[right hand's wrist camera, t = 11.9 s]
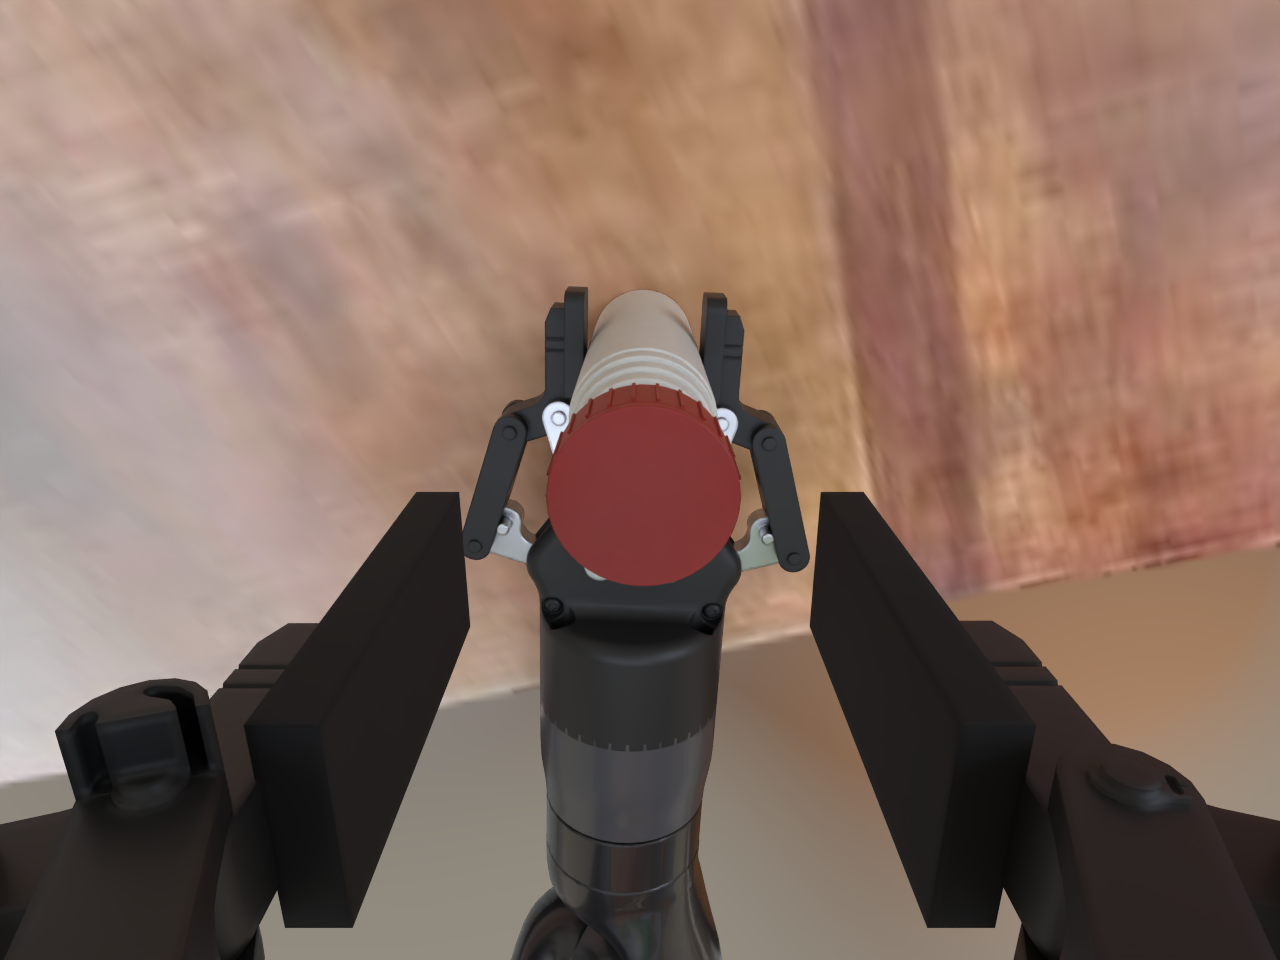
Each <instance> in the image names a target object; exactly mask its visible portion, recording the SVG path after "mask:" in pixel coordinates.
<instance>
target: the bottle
mask: <svg viewBox="0 0 1280 960" xmlns="http://www.w3.org/2000/svg"><path fill="white" fill-rule="evenodd" d="M632 383H636V385H638V384H647V385H655V384H656V383H659V386H663V387H667V388H671V389H674V390H677V391H678V389H680V390H682V393H683V394H686V395H688V396H689V397H691V398H692V399H694V400H696V401H697V402H698V401H701V402H702V405H703V407H704V408H706V409H707V410H708V412H709V413H710V414H711V415H712V416H713V417H715V416H716V417H717V418H718V416H717V407H716V402H715V398H714V396H713V393H712V390H711V387H710V384H709V381H708V378H707V375H706V372H705V369H704V366H703V364H702V361H701V358H700V355H699V352H698V349H697V346H696V343H695V340H694V337H693V335H692V332H691V329H690V326H689V323H688V320H687V318H686V316H685V314H684V312H683V311H682V309H681V308H680V307H679V306H678V305H677V303H675V302H674V301H673V300H672V299H670V298H669V297H667V296H666V295H664V294H661V293H659V292H656V291H651V290H634V291H630V292H627V293H624V294H622V295H620V296H618V297H616V298H615V299H614V300H612V301H611V302H610V303H609V304H608V305H607V306H606V307H605V309H604V310H603V311H602V313H601V315H600V316H599V319H598V321H597V324H596V327H595V330H594V333H593V336H592V339H591V342H590V345H589V348H588V351H587V354H586V357H585V360H584V363H583V366H582V369H581V372H580V375H579V378H578V381H577V384H576V387H575V390H574V393H573V396H572V399H571V403H570V408H569V422H570V419H571V416H572V414H573V413H575V414H576V413H577V412H578V411H579V410H580V409H581V408H582V407H584V406H585V405H586V404H587V403H588V400H589V399H590V398H592V399H594V398H596V397H598V396H599V395H601V394H603V393H605V392H608V391H609V388H613V389H616V388H619V387H624V386H628V385H632ZM569 422H568V424H569Z"/></svg>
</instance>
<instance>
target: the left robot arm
mask: <svg viewBox="0 0 1280 960" xmlns="http://www.w3.org/2000/svg"><path fill="white" fill-rule="evenodd" d="M587 335H588V287H570V286H569V287H568V288H567V289H566V291H565V297H564V303H554V304H553V306H552V307H551V309H550V311H549V314H548V316H547V319H546V321H545V391H544V392H543V393H542V394H541V395H539V396H537V397H535V398H531V399H528V400H525V401H523V400H514V401H512V402H510V403H509V404H508V405H507V406H506V407H505V409H504V411H503V413H502V416H501V417H500V418H499V419H498V420H497V422H496V423H495V425H494V428H493V431H492V434H491V438H490V441H489V445H488V448H487V451H486V455H485V458H484V461H483V465H482V468H481V471H480V475H479V478H478V482H477V485H476V488H475V492H474V495H473V498H472V502H471V505H470V508H469V512H468V515H467V519H466V522H465V525H464V529H463V532H462V534H463V546H464V555H465V556H466V557H467V558H469V559H473V560H480V559H483V558H485V557H486V556H487V555H488V554H489V552H490V553H493V554H496V555H499V556H503V557H506V558H509V559H512V560H515V561H519V562H522V563H525V564H526V565H527V570H528V573H529V575H530V576H531V578H532V580H533V581H534V583H535V585H536V587H537V589H538V592H539V597H540V698H541V700H540V704H541V752H542V760H543V766H544V771H545V777H546V785H547V861H548V868H549V874H550V879H551V882H552V884H553V887H552V888H551V889H549V890H548V891H547V892H546V893H545V894H544V895H543V896H542V897H541V898H540V899H539V900H538V901H537V902H536V903H535V905H534V906H533V907H532V909H531V911H530V912H529V914H528V916H527V918H526V920H525V922H524V924H523V926H522V929H521V932H520V934H519V937H518V940H517V942H516V946H515V949H514V952H513V955H512V958H511V960H722V955H721V949H720V944H719V938H718V934H717V930H716V926H715V923H714V919H713V916H712V912H711V908H710V904H709V900H708V896H707V893H706V889H705V884H704V880H703V876H702V871H701V867H700V863H699V859H698V847H699V831H700V818H701V807H702V797H703V790H704V785H705V781H706V777H707V774H708V770H709V766H710V762H711V756H712V748H713V738H714V727H715V715H716V704H717V692H718V681H719V670H720V658H721V647H722V635H723V624H724V612H725V604H726V601H727V598H728V596H729V594H730V592H731V590H732V589H733V588H734V586H735V585H736V584H737V582H738V581H739V578H740V576H741V572H742V571H747V570H751V569H755V568H760V567H764V566H768V565H772V564H777V563H779V564H780V566H781V567H782V568H783V569H784V570H786V571H788V572H798V571H801V570H802V569H804V568H805V567H806V566H807V564H808V563H809V560H810V554H809V550H808V545H807V540H806V535H805V531H804V526H803V521H802V516H801V511H800V507H799V502H798V497H797V492H796V487H795V483H794V478H793V473H792V468H791V464H790V459H789V454H788V449H787V444H786V440H785V437H784V435H783V433H782V431H781V429H780V428H779V426H778V424H777V422H776V421H775V419H774V417H773V416H772V415H771V414H770V413H769V412H767V411H764V410H756V409H753V408H751V407H748V406H746V405H744V404H743V403H741V402H740V401H739V386H740V374H741V362H742V351H743V339H744V328H743V325H742V322H741V319H740V316H739V314H738V313H737V312H736V310H727V298H726V296H725V295H724V294H723V293H706V292H704V295H703V304H702V319H701V334H700V349H699V355H700V358H701V361H702V364H703V366H704V369H705V372H706V375H707V378H708V381H709V384H710V387H711V390H712V393H713V396H714V398H715V402H716V407H717V416H718V421H719V424H720V427H721V429H722V431H723V433H724V435H725V436H726V435H728V437H729V440H730V443H734V444H737V445H739V446H742V447H744V448H747V449H750V453H751V458H752V462H753V467H754V471H755V475H756V480H757V484H758V489H759V493H760V497H761V502H762V506H763V508H762V509H758V510H756V511H754V512H752V513H751V514H750V516H749V517H748V520H747V532H746V534H745V536H744V537H743V538H742V539H740V540H739V541H736V542H734V541H733V539H732V538H731V536H730V537H729V539H728V541H727V543H726V544H725V545H724V547H723V548H722V549H721V551H720V552H719V553H718V554H717V555H716V556H715V557H714V558H713V559H712V560H711V561H710V562H709V563H707V564H706V565H705V566H704V567H703V568H701V569H699V570H698V571H696V572H695V573H693V574H691V575H689V576H687V577H685V578H682V579H680V580H677V581H674V582H671V583H666V584H661V585H654V586H632V585H626V584H620V583H617V582H613V581H610V580H607V579H605V578H602V577H600V576H598V575H596V574H594V573H592V572H591V571H589V570H587V569H586V568H585V567H583V566H582V565H581V564H579V563H578V562H577V561H576V560H575V559H574V558H573V557H572V556H571V555H570V554H569V553H568V552H567V551H566V549H565V548H564V547H563V546H562V544H561V542H560V541H559V539H558V538H557V536H556V534H555V532H554V529H553V527H552V525H551V522H550V518H548V520H547V521H546V522H545V523H544V525H543V526H542V527H541V528H540V530H539V531H538V532H537V533H536V535H535V534H532V533H531V532H529V531H528V530H527V529H526V527H525V525H524V510H523V507H522V506H521V505H520V504H519V503H518V502H517V501H515V500H512V499H509V498H510V495H511V491H512V488H513V485H514V482H515V479H516V475H517V472H518V469H519V466H520V463H521V460H522V456H523V453H524V450H525V447H526V444H527V441H530V440H534V439H537V438H540V437H543V436H546V435H547V437H548V440H549V443H550V447H551V450H552V453H554V450H555V447H556V444H557V441H558V438H559V435H560V432H561V431H562V432H564V430H565V429H566V427H567V425H568V422H569V408H570V403H571V399H572V396H573V393H574V390H575V387H576V384H577V381H578V378H579V375H580V372H581V369H582V366H583V363H584V360H585V357H586V354H587Z"/></svg>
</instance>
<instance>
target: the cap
mask: <svg viewBox="0 0 1280 960" xmlns="http://www.w3.org/2000/svg"><path fill="white" fill-rule="evenodd" d="M734 457H735V455H734V452H733V449H732V446H731V443H730V440H729V437H728V435H726V436H725V435H724V433H723V431H722V429H721V427H720V424H719V421H718V418H717V417H716V416H715V417H713V416H712V415H711V414H710V413H709V412H708V410H707V409H706V408H704V407H703V405H702V402H701V401H698V402H697V401H696V400H694V399H692V398H691V397H689V396H688V395H686V394H683V393H682V390H680V389H678V391H677V390H674V389H671V388H667V387H663V386H659V383H656V384H655V385H647V384H638V385H636V383H632V385H628V386H624V387H619V388H616V389H613V388H609V391H608V392H605V393H603V394H601V395H599V396H598V397H596V398H594V399H592V398H590V399H589V400H588V403H587V404H586V405H585V406H584V407H582V408H581V409H580V410H579V411H578V412H577V413H576V414H575V413H573V414H572V416H571V419H570V422H569V424H568V425H567V427H566V429H565V430H564V432H562V431H561V432H560V435H559V438H558V441H557V444H556V447H555V450H554V453H553V456H552V459H551V462H550V465H549V468H548V471H547V475H549V477H548V482H547V490H546V502H547V509H548V515H549V518H550V522H551V525H552V527H553V529H554V532H555V534H556V536H557V538H558V539H559V541H560V542H561V544H562V546H563V547H564V548H565V549H566V551H567V552H568V553H569V554H570V555H571V556H572V557H573V558H574V559H575V560H576V561H577V562H578V563H579V564H581V565H582V566H583V567H585V568H586V569H587V570H589V571H591V572H592V573H594V574H596V575H598V576H600V577H602V578H605V579H607V580H610V581H613V582H617V583H620V584H626V585H632V586H654V585H661V584H666V583H671V582H674V581H677V580H680V579H682V578H685V577H687V576H689V575H691V574H693V573H695V572H696V571H698V570H699V569H701V568H703V567H704V566H705V565H706V564H707V563H709V562H710V561H711V560H712V559H713V558H714V557H715V556H716V555H717V554H718V553H719V552H720V551H721V549H722V548H723V547H724V545H725V544H726V543H727V541H728V539H729V537H730V536H731V534H732V532H733V530H734V527H735V524H736V522H737V518H738V514H739V510H740V501H741V493H740V482H739V480H741V476H740V473H739V470H738V468H737V465H736V462H735V459H734Z"/></svg>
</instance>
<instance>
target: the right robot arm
mask: <svg viewBox="0 0 1280 960" xmlns="http://www.w3.org/2000/svg"><path fill="white" fill-rule="evenodd" d="M469 628H470V618H469V606H468V594H467V582H466V570H465V558H464V546H463V534H462V522H461V510H460V498H459V492H416V493H415V495H414V496H413V497H412V499H411V500H410V502H409V503H408V504H407V506H406V507H405V508H404V510H403V511H402V512H401V514H400V515H399V516H398V518H397V519H396V520H395V522H394V523H393V524H392V526H391V527H390V528H389V530H388V531H387V532H386V534H385V535H384V537H383V538H382V539H381V541H380V542H379V543H378V545H377V546H376V547H375V549H374V550H373V551H372V553H371V554H370V555H369V557H368V558H367V559H366V561H365V562H364V563H363V565H362V566H361V568H360V569H359V570H358V572H357V573H356V574H355V576H354V577H353V578H352V580H351V581H350V582H349V584H348V585H347V586H346V588H345V589H344V590H343V592H342V593H341V594H340V596H339V597H338V598H337V600H336V601H335V603H334V604H333V605H332V607H331V608H330V609H329V611H328V612H327V613H326V615H325V616H324V617H323V619H322V620H321V621H320V623H288V624H287V625H285V626H283V627H282V628H280V629H279V630H277V631H275V632H274V633H272V634H271V635H269V636H267V637H266V638H264V639H263V640H261V641H259V642H258V643H257V644H256V645H255V646H254V648H253V649H252V650H251V651H250V652H249V653H248V655H247V656H246V657H245V658H244V659H243V661H242V662H241V663H240V664H239V669H235V670H234V671H233V672H232V674H231V675H230V676H229V677H228V678H227V679H226V681H225V682H224V683H223V688H219V689H218V690H217V691H216V692H215V694H214V695H213V696H212V697H211V698H210V700H209V696H208V692H207V690H206V689H204V688H203V687H202V686H200V685H199V684H197V683H196V682H193V681H187V680H182V679H176V678H173V679H159V680H148V681H144V682H140V683H136V684H132V685H128V686H124V687H120V688H118V689H116V690H113V691H111V692H109V693H106V694H104V695H101V696H99V697H97V698H94V699H92V700H91V701H89V702H88V703H86V704H85V705H83V706H82V707H80V708H79V709H77V710H76V711H74V712H72V713H71V714H69V716H68V717H67V718H66V719H65V720H64V721H63V722H62V724H61V725H60V726H59V727H58V728H57V729H56V730H55V733H56V737H57V740H58V743H59V747H60V750H61V753H62V756H63V760H64V763H65V766H66V770H67V773H68V776H69V779H70V783H71V786H72V789H73V793H74V796H75V799H76V802H75V804H74V806H73V808H72V809H68V810H65V811H61V812H57V813H52V814H47V815H42V816H38V817H34V818H29V819H24V820H19V821H15V822H10V823H5V824H0V960H264V959H265V956H264V949H263V942H262V937H261V933H260V928H259V924H260V922H261V920H262V918H263V916H264V915H265V913H266V911H267V909H268V907H269V905H270V903H271V901H272V899H273V897H274V895H275V893H276V891H278V896H279V901H280V905H281V910H282V915H283V920H284V925H285V928H353V925H354V923H355V920H356V918H357V915H358V913H359V910H360V907H361V905H362V902H363V900H364V897H365V895H366V892H367V890H368V887H369V884H370V882H371V879H372V877H373V874H374V872H375V869H376V866H377V864H378V861H379V859H380V856H381V854H382V851H383V848H384V846H385V843H386V841H387V838H388V836H389V833H390V831H391V828H392V825H393V823H394V820H395V818H396V815H397V813H398V810H399V807H400V805H401V802H402V800H403V797H404V795H405V792H406V790H407V787H408V784H409V782H410V779H411V777H412V774H413V772H414V769H415V767H416V764H417V761H418V759H419V756H420V754H421V751H422V749H423V746H424V743H425V741H426V738H427V736H428V733H429V731H430V728H431V726H432V723H433V720H434V718H435V715H436V713H437V710H438V708H439V705H440V702H441V700H442V697H443V695H444V692H445V690H446V687H447V684H448V682H449V679H450V677H451V674H452V672H453V669H454V667H455V664H456V661H457V659H458V656H459V654H460V651H461V649H462V646H463V643H464V641H465V638H466V636H467V633H468V631H469ZM810 628H811V631H812V633H813V636H814V638H815V641H816V643H817V646H818V649H819V651H820V654H821V656H822V659H823V661H824V664H825V666H826V669H827V672H828V674H829V677H830V679H831V682H832V684H833V687H834V690H835V692H836V695H837V697H838V700H839V702H840V705H841V708H842V710H843V712H844V715H845V718H846V720H847V723H848V726H849V728H850V731H851V733H852V736H853V738H854V741H855V743H856V746H857V749H858V751H859V754H860V756H861V759H862V761H863V764H864V766H865V769H866V772H867V774H868V777H869V779H870V782H871V784H872V787H873V790H874V792H875V795H876V797H877V800H878V802H879V805H880V808H881V810H882V813H883V815H884V818H885V820H886V823H887V825H888V828H889V831H890V833H891V836H892V838H893V841H894V843H895V846H896V849H897V851H898V854H899V856H900V859H901V861H902V864H903V866H904V869H905V871H906V874H907V877H908V879H909V882H910V884H911V887H912V890H913V892H914V895H915V897H916V900H917V902H918V905H919V907H920V910H921V913H922V915H923V918H924V920H925V923H926V925H927V928H995V925H996V920H997V915H998V910H999V905H1000V900H1001V896H1002V891H1003V887H1004V889H1005V891H1006V893H1007V895H1008V897H1009V899H1010V901H1011V903H1012V905H1013V907H1014V909H1015V910H1016V912H1017V914H1018V916H1019V918H1020V920H1021V922H1022V924H1021V928H1020V933H1019V937H1018V942H1017V946H1016V951H1015V955H1014V960H1280V821H1278V820H1273V819H1268V818H1264V817H1259V816H1254V815H1249V814H1245V813H1240V812H1235V811H1231V810H1226V809H1221V808H1217V807H1214V806H1210V805H1207V804H1206V802H1205V800H1204V799H1203V797H1202V796H1201V794H1200V793H1199V792H1198V791H1197V789H1196V788H1195V786H1194V785H1193V784H1192V782H1191V781H1190V780H1188V779H1187V778H1186V777H1184V776H1183V775H1182V774H1180V773H1179V772H1178V771H1176V770H1175V769H1174V768H1172V767H1171V766H1170V765H1168V764H1166V763H1164V762H1162V761H1160V760H1158V759H1156V758H1154V757H1152V756H1150V755H1148V754H1146V753H1144V752H1141V751H1137V750H1134V749H1130V748H1127V747H1123V746H1120V745H1116V744H1111V743H1110V742H1109V741H1108V739H1107V738H1106V737H1105V736H1104V735H1103V734H1102V732H1101V731H1100V730H1099V729H1098V728H1097V726H1096V725H1095V724H1094V723H1093V722H1092V721H1091V719H1090V718H1089V717H1088V716H1087V715H1086V714H1085V712H1084V711H1083V710H1082V709H1081V708H1080V707H1079V705H1078V704H1077V703H1076V702H1075V701H1074V699H1073V698H1072V697H1071V696H1070V695H1069V694H1068V692H1067V691H1066V690H1065V689H1064V688H1063V687H1062V686H1058V683H1057V680H1056V678H1055V677H1054V676H1053V675H1052V674H1051V673H1050V671H1049V670H1048V669H1047V668H1046V667H1042V662H1041V661H1040V660H1039V658H1038V657H1037V656H1036V655H1035V654H1034V653H1033V651H1032V650H1031V649H1030V648H1029V647H1028V646H1027V644H1026V643H1025V642H1024V641H1023V640H1022V639H1020V638H1019V637H1017V636H1016V635H1014V634H1012V633H1011V632H1009V631H1008V630H1006V629H1004V628H1003V627H1001V626H1000V625H998V624H996V623H995V622H993V621H959V620H958V619H957V617H956V616H955V615H954V613H953V612H952V611H951V609H950V608H949V607H948V605H947V604H946V603H945V601H944V600H943V598H942V597H941V596H940V594H939V593H938V592H937V590H936V589H935V588H934V586H933V585H932V584H931V582H930V581H929V580H928V578H927V577H926V576H925V574H924V573H923V572H922V570H921V569H920V568H919V566H918V565H917V563H916V562H915V561H914V559H913V558H912V557H911V555H910V554H909V553H908V551H907V550H906V549H905V547H904V546H903V545H902V543H901V542H900V541H899V539H898V538H897V537H896V535H895V534H894V533H893V531H892V530H891V528H890V527H889V526H888V524H887V523H886V522H885V520H884V519H883V518H882V516H881V515H880V514H879V512H878V511H877V510H876V508H875V507H874V506H873V504H872V503H871V502H870V500H869V499H868V497H867V496H866V495H865V493H864V492H821V498H820V510H819V522H818V534H817V546H816V558H815V570H814V582H813V594H812V606H811V618H810Z"/></svg>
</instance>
